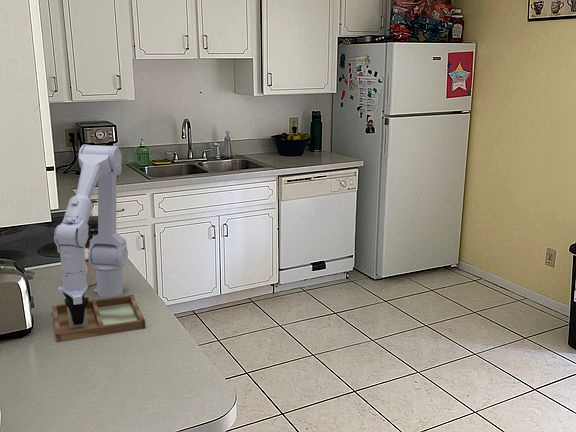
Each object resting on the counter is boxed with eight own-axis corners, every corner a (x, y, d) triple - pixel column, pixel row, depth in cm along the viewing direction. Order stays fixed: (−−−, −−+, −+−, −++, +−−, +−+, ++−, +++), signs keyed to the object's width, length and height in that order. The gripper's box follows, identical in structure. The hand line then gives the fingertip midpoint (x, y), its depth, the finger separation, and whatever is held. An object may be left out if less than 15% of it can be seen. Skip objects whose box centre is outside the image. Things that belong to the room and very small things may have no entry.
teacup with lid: (67, 279, 183) (64, 243, 180) (97, 275, 187) (95, 240, 184) (70, 293, 173) (67, 255, 170) (103, 288, 176) (100, 251, 173)
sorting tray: (53, 316, 157) (52, 305, 156) (133, 304, 165) (132, 294, 165) (57, 345, 141) (56, 334, 141) (145, 331, 150) (145, 320, 149)
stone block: (67, 321, 152) (66, 303, 151) (85, 318, 154) (84, 300, 153) (69, 328, 148) (67, 309, 147) (87, 325, 150) (86, 307, 149)
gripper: (55, 262, 152) (59, 311, 156) (58, 281, 139) (62, 334, 143) (83, 259, 155) (87, 307, 159) (89, 278, 142) (93, 329, 146)
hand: (77, 319), depth 151 cm, fingers closed on stone block, 4 cm apart
